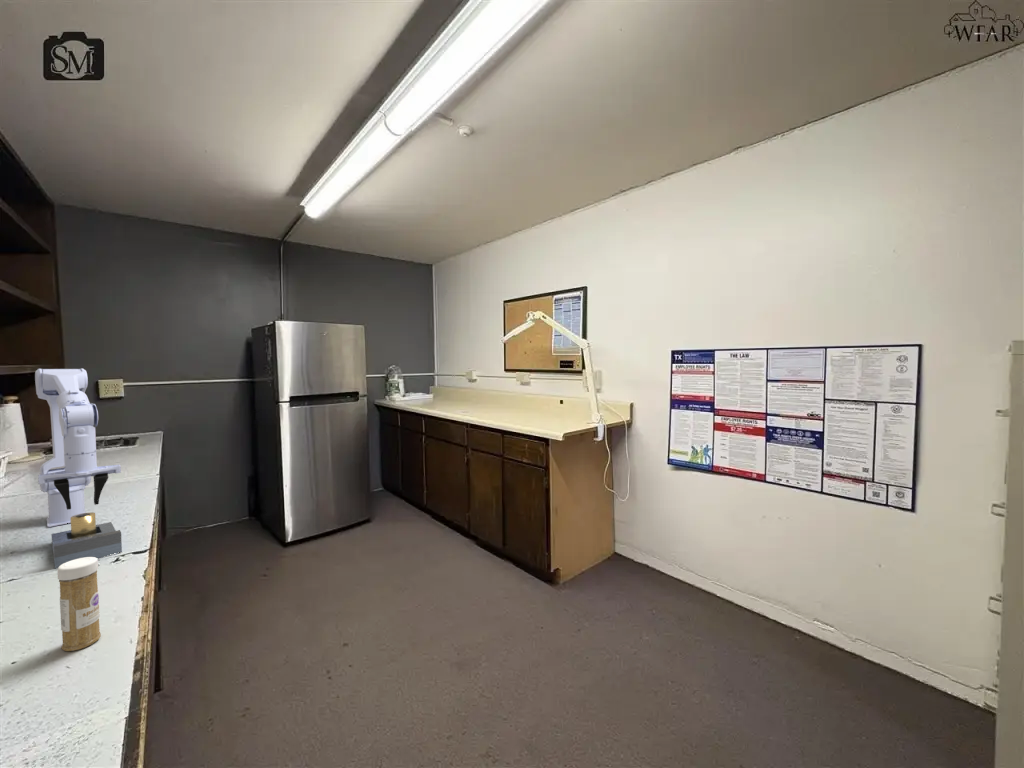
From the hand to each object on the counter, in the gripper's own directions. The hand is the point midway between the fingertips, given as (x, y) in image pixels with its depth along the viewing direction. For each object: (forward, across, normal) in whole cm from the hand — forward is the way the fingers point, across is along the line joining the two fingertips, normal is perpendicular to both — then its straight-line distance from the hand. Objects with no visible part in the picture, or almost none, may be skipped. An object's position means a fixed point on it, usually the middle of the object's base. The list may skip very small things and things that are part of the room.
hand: (82, 506), depth 107 cm
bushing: (+9, 0, 0) cm, 9 cm away
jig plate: (+9, 0, -5) cm, 11 cm away
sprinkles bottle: (+10, -4, -55) cm, 56 cm away
